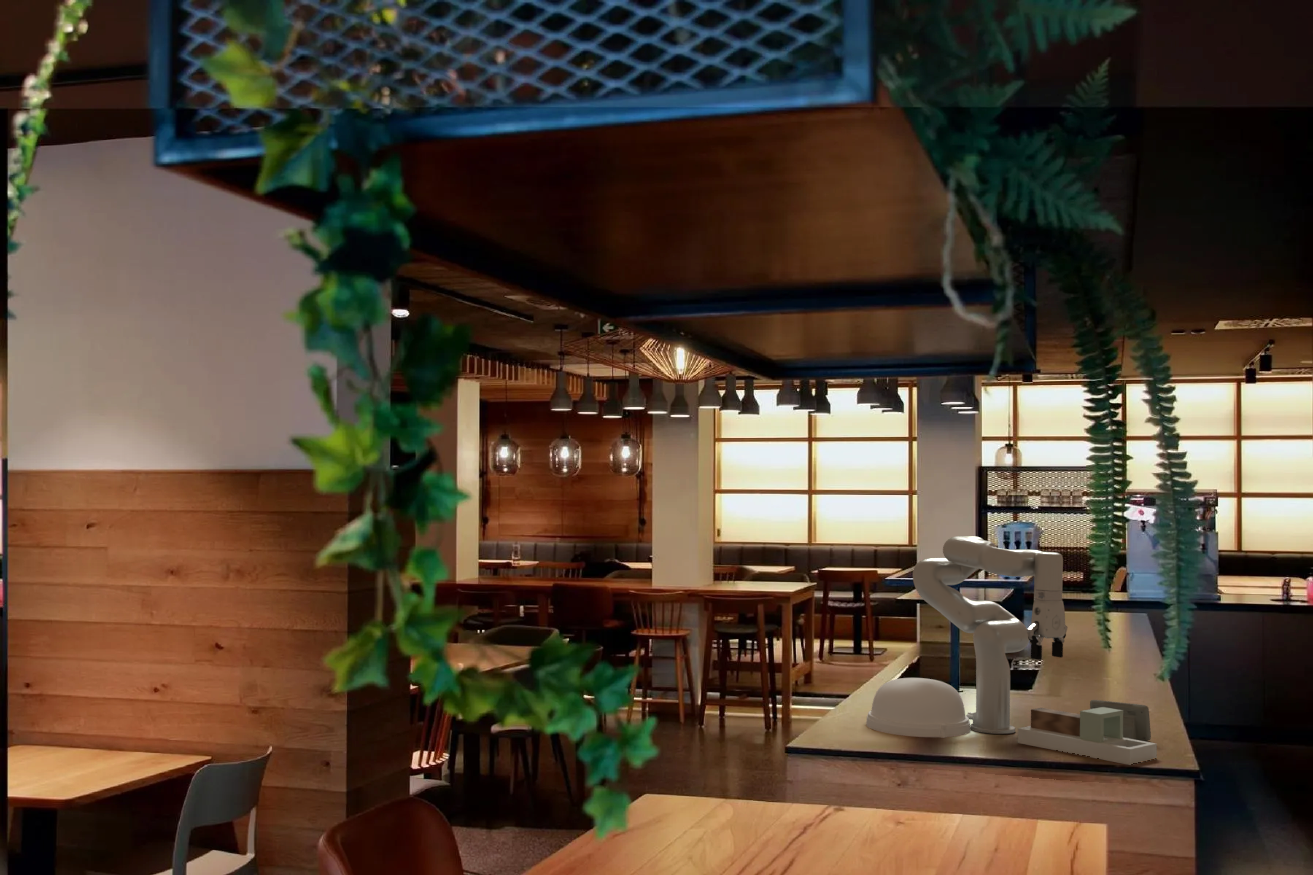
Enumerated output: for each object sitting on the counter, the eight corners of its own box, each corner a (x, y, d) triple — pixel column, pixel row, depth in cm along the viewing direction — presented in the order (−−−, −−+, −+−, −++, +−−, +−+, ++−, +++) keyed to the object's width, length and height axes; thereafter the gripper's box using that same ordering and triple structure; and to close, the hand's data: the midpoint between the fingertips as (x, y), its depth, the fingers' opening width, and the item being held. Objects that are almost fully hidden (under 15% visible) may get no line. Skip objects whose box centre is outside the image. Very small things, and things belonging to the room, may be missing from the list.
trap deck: (1017, 742, 343) (1017, 728, 343) (1044, 737, 351) (1044, 723, 351) (1130, 764, 317) (1130, 749, 317) (1156, 758, 325) (1156, 743, 325)
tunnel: (1079, 738, 329) (1080, 710, 330) (1102, 734, 336) (1102, 706, 337) (1100, 742, 325) (1100, 714, 325) (1122, 738, 332) (1123, 710, 332)
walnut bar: (1030, 727, 344) (1030, 709, 345) (1041, 725, 348) (1041, 707, 348) (1079, 736, 333) (1079, 717, 333) (1089, 734, 336) (1089, 715, 336)
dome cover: (848, 719, 375) (848, 672, 376) (937, 716, 383) (937, 670, 384) (896, 740, 344) (896, 689, 345) (992, 736, 352) (992, 686, 353)
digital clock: (1154, 741, 349) (1154, 703, 349) (1140, 745, 342) (1140, 707, 343) (1098, 732, 360) (1099, 696, 361) (1084, 736, 354) (1084, 699, 354)
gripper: (1040, 598, 338) (1039, 661, 337) (1078, 596, 348) (1076, 657, 348) (1017, 596, 344) (1016, 658, 343) (1054, 594, 354) (1053, 654, 354)
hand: (1046, 657), depth 346 cm, fingers open, 9 cm apart
